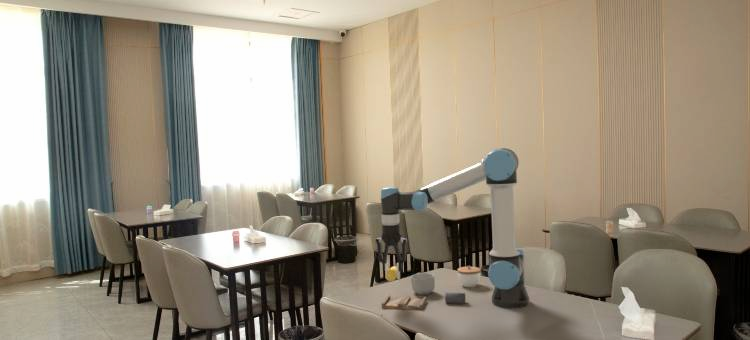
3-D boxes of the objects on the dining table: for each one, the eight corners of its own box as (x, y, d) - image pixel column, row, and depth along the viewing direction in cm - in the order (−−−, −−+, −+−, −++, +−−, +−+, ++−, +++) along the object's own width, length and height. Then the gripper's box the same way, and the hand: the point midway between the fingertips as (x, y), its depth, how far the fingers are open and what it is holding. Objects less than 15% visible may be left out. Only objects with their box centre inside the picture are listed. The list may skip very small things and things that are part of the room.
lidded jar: (453, 285, 249) (452, 266, 249) (467, 281, 256) (466, 262, 256) (471, 290, 241) (471, 269, 241) (485, 284, 248) (485, 265, 248)
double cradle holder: (426, 301, 227) (426, 296, 227) (422, 309, 216) (421, 304, 216) (388, 300, 231) (387, 295, 231) (381, 308, 221) (381, 303, 221)
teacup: (436, 296, 234) (435, 278, 234) (411, 296, 235) (411, 279, 234) (433, 287, 248) (432, 270, 248) (410, 288, 249) (409, 271, 248)
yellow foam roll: (397, 279, 220) (392, 269, 220) (388, 283, 221) (383, 273, 222) (401, 273, 228) (397, 264, 228) (392, 277, 229) (388, 268, 229)
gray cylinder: (465, 305, 223) (465, 294, 225) (464, 302, 219) (464, 291, 221) (446, 304, 225) (446, 294, 227) (445, 301, 221) (445, 291, 224)
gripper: (412, 222, 224) (414, 276, 226) (373, 222, 229) (375, 275, 230) (409, 225, 217) (411, 281, 219) (368, 225, 222) (370, 279, 223)
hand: (392, 278), depth 224 cm, fingers closed on yellow foam roll, 4 cm apart
